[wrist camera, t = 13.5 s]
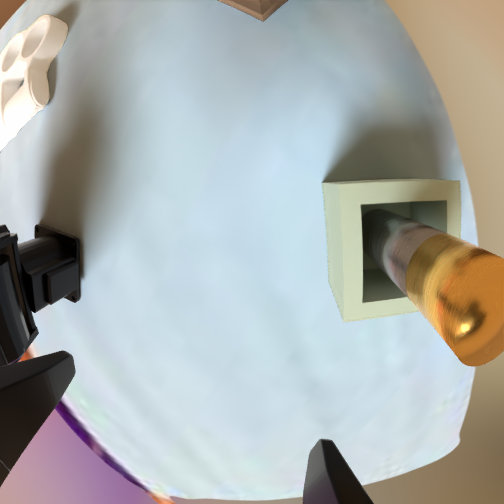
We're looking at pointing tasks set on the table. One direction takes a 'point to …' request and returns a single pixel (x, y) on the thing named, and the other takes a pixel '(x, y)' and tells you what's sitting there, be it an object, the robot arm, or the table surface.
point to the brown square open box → (256, 7)
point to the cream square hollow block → (350, 238)
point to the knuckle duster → (27, 73)
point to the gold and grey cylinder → (442, 281)
